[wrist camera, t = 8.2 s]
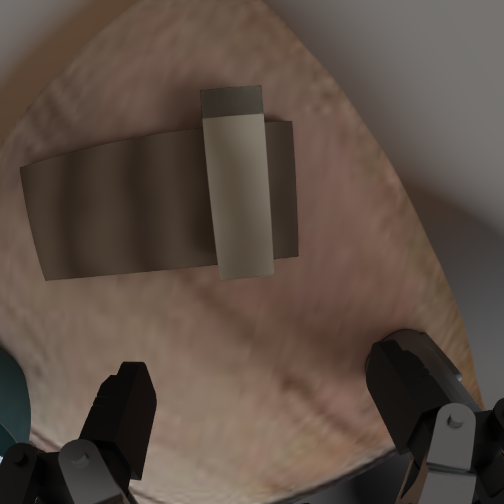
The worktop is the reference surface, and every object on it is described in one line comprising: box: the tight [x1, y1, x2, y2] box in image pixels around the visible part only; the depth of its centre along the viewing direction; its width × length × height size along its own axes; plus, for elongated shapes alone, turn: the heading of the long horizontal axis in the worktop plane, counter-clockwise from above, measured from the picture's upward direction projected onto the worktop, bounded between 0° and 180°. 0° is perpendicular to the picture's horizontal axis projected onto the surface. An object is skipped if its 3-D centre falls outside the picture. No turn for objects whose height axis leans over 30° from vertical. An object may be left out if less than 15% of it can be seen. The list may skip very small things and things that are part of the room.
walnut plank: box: [20, 121, 299, 281], centre depth 26 cm, size 26×12×2 cm, turn 95°
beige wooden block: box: [200, 85, 274, 280], centre depth 23 cm, size 4×14×6 cm, turn 5°
